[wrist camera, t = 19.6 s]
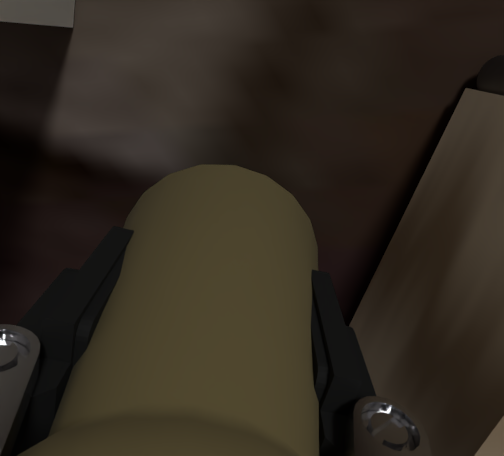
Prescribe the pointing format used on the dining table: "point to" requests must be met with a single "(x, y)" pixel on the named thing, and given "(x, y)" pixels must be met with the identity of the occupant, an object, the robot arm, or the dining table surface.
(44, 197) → the dining table surface
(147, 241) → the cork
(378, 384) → the gate
